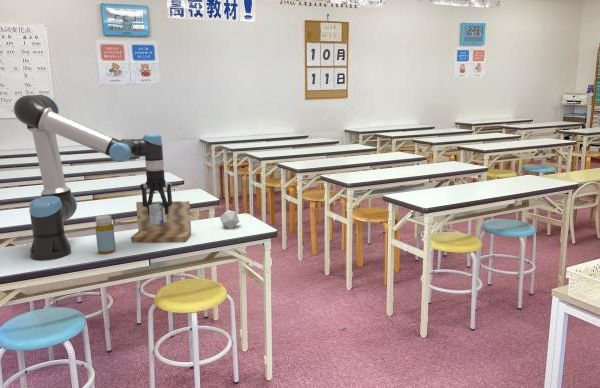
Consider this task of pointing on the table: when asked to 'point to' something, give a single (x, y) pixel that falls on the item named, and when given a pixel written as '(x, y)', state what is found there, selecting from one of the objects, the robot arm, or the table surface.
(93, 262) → the table surface
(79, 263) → the table surface
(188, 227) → the cleat board
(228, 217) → the die
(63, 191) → the robot arm
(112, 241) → the bottle
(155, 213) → the medicine box
